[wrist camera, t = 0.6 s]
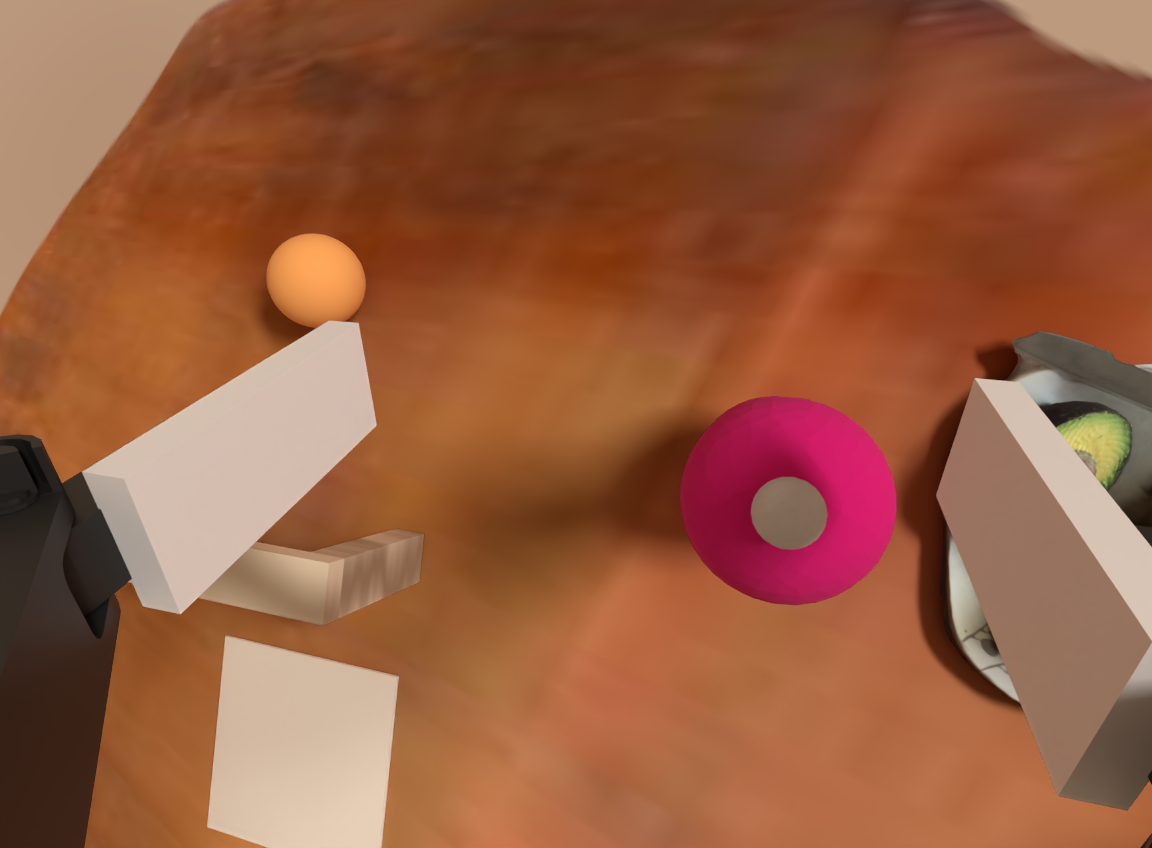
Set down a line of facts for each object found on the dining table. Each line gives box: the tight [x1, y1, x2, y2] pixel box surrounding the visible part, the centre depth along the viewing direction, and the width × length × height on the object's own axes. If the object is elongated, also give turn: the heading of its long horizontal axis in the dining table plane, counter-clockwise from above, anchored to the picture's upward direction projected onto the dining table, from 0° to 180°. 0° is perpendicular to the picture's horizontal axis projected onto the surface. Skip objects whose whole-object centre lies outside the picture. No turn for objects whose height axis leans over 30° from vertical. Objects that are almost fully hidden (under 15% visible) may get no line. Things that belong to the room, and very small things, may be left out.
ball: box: [266, 234, 366, 328], centre depth 39 cm, size 6×6×6 cm
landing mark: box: [207, 635, 399, 848], centre depth 42 cm, size 13×13×1 cm
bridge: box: [129, 529, 424, 626], centre depth 37 cm, size 3×14×9 cm, turn 84°
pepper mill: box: [680, 396, 896, 605], centre depth 25 cm, size 7×7×20 cm
